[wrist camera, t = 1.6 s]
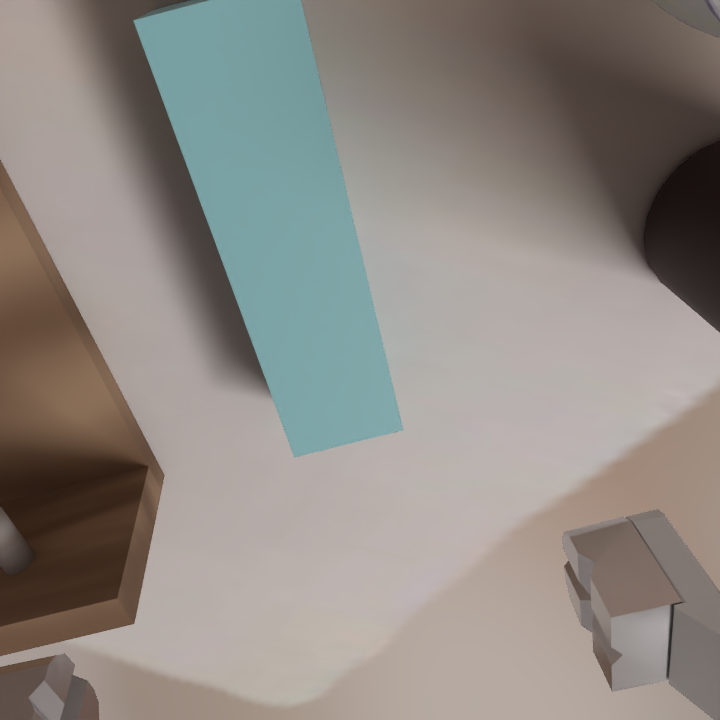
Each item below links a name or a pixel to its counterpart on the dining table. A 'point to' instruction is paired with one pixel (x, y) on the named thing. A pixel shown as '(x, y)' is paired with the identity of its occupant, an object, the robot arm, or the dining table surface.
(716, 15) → the teacup
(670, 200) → the bottle
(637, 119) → the dining table surface
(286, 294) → the shelf board
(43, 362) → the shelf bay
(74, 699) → the robot arm
